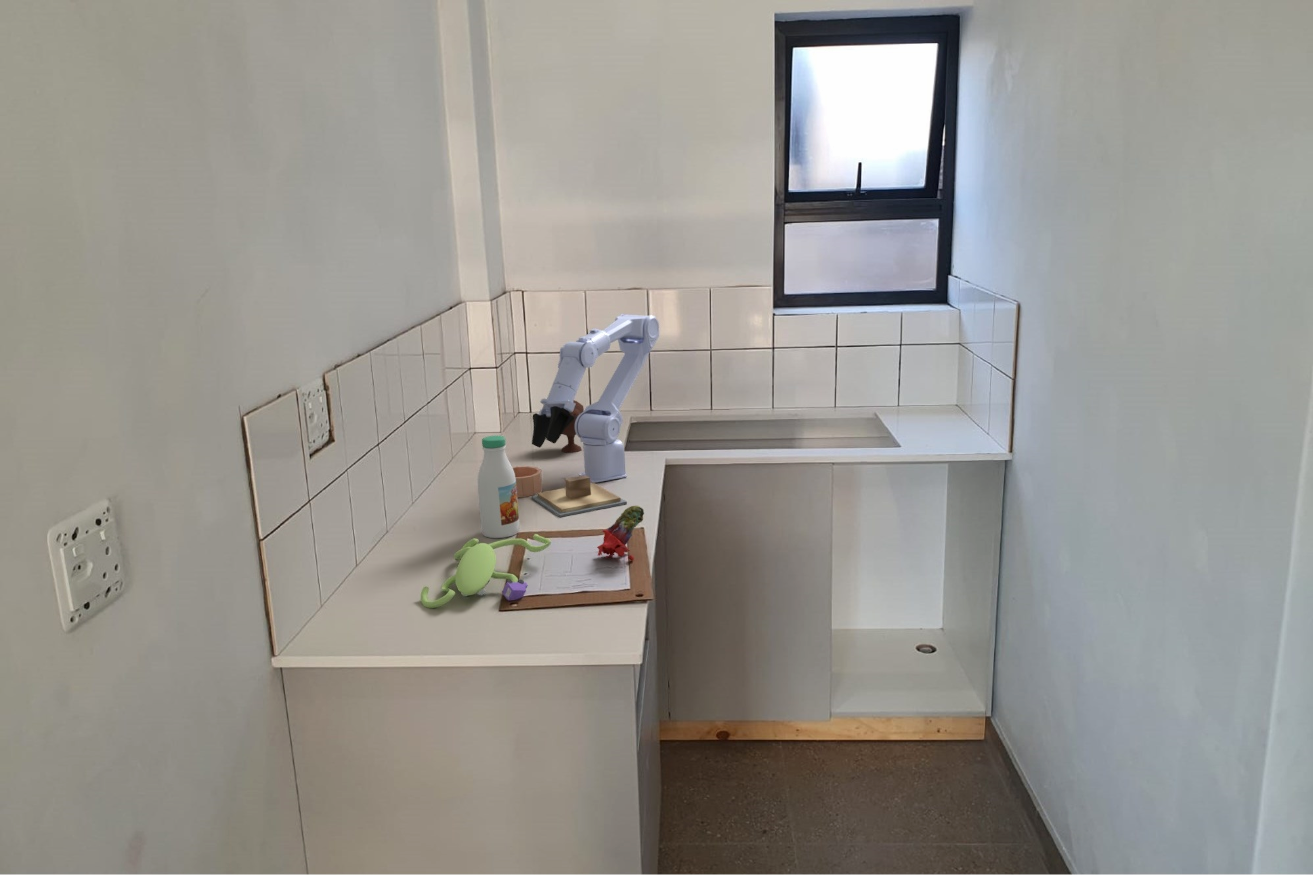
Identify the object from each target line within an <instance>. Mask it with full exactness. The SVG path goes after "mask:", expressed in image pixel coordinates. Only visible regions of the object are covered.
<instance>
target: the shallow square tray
mask: <svg viewBox="0 0 1313 875" xmlns="http://www.w3.org/2000/svg"><path fill="white" fill-rule="evenodd" d="M531 499H532V500H534V501H536V502H537V503H538V504H540V505H541V506H542V507H544V508H545V509H547V510H548V511H550V512H551V513H553V514H555V515H557V517H559V518H563V517H568V516H574V515H578V514H582V513H588V512H593V511H599V510H603V509H607V508H612V507H617V506H622V505H623V506H624V505H627V504H628V502H627V501H626V500H625V499H623V498H621V501H620V502H615V503H610V504H605V505H600V506H595V507H590V508H585V509H579V510H574V511H569V512H564V513H562V512H560V511H559V510H557V509H556V508H554V507H553V506H551V505H550V504H548V503H547V502H545V501H544V500H542V499H541V498H539V497H538V495H537V494H535V495H532V496H531Z"/></svg>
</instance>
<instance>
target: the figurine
mask: <svg viewBox="0 0 1313 875" xmlns="http://www.w3.org/2000/svg"><path fill="white" fill-rule="evenodd" d="M532 539H533V540H535V541H536V542H538V543H541V544H542V545H532V544H530V543H529V541H527V540H526V539H524V538H508V539H501V540H498V541H494V542H491V543H485V542H480V541H479V539H478V538H471V539H469V540H468V541H467V542H465V544H464V545H463V546H462V547H461V549H459V550H458V551H456V552H455V553H454V554H453V559H454V560H455V561H459V560H460V561H459V563H458V565H457V567H456V572H455V574H454V575H452V576H450V577H449V578H447V579H446V580H445V581H444V583H443V584H442V585H441V591H442V592H446V594H445V595H444V596H441V597H440V598H438V599H435V600H428V594H429V590H430V589H429V587H428V586H424V587H423V588H422V589H421V594H420V602H421V605H423V606H424V607H425V608H428V609H434V608H435V609H436V608H439V607H441V606H444V604H445V605H446V603H448V602H450V601H451V600H453V598H454V596H455V595H456V592H455V591H454V590H452V589H450V587H451V586H452V585H453V584H454V583H455V586H456V587H457V590H458V591H459V592H460V593H461V595H462V596H463V597H467V596H468V597H469V596H473V595H476V594H477V595H478V596H484V595H486V594H485V593H486V591H487V590H486V586H487V585H488V583H489V582H490V580H491V578H492V579H498V580H501V579H502V580H505V579H506V581H505V585H504V588H503V590H501V594H502V595H503V596H504V597H505V599H506V600H507V601H516V600H519V599H521V598H523V597H524V595H525V593H526V592H527V588H528V586H529V585H528V583H527V582H526V581H524V580H523V579H518V577H517V576H516V575H515V574H513V573H506V572H505V573H504V572H497V571H495V568H496V563H497V556H496V552H495V549H498V548H502V547H507V546H522V547H524V548H525V549H526V550H527V551H528V552H531V553H539V552H542V551H544V550H546V549H547V548H549V546H551V543H552V542H551V539H550V538H548V537H544V536H541V535H539V534H537V533H535V534H533V536H532ZM479 542H480V543H479Z"/></svg>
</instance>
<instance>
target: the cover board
mask: <svg viewBox="0 0 1313 875" xmlns="http://www.w3.org/2000/svg"><path fill="white" fill-rule="evenodd" d="M564 485H565V486H564V487H563V488H558V489H553V490H552V489H551V490H547V491H543V492H540V493H537V494H536V495H538V497H539V498H541V499H542V500H544V501H545V502H547V503H548V504H550V505H551V506H553V507H554V508H556V509H557V510H559V511H560V512H562V513H564V512H569V511H574V510H579V509H585V508H590V507H595V506H600V505H605V504H610V503H615V502H620V501H621V499H622V498H621V497H620V496H619V495H616V494H614V493H613V492H610V491H609V490H607V489H605V488H604V487H602V486H600V485H599V484H598V483H597V484H596V483H591V482H590V477H588V476H586V475H583V476H579V475H577V476H574V477H573V476H572V477H567V478H565V479H564Z"/></svg>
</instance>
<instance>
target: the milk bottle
mask: <svg viewBox="0 0 1313 875" xmlns="http://www.w3.org/2000/svg"><path fill="white" fill-rule="evenodd" d="M506 444H507V443H506V437H505V436H502V435H488V436H485V437H483V438H482V439H481V445H482V450H483V457H482V462H481V465H480V467H479V469H478V473H477V491H478V493H477V494H478V505H479V506H478V507H479V508H478V509H479V519H480V528H481V529H480V530H481V534H482V536H484V537H486V538H489V539H490V538H491V539H504V538H510V537H512V536H515V535H516V534H518V533H519V532H520V512H519V502H518V497H517V487H516V478H515V473H514V470H513V468H512V467H513V466H512V465H511V462H510V461H509V458H508V456H507V454H506V450H505V449H506V447H507V446H506Z"/></svg>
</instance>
